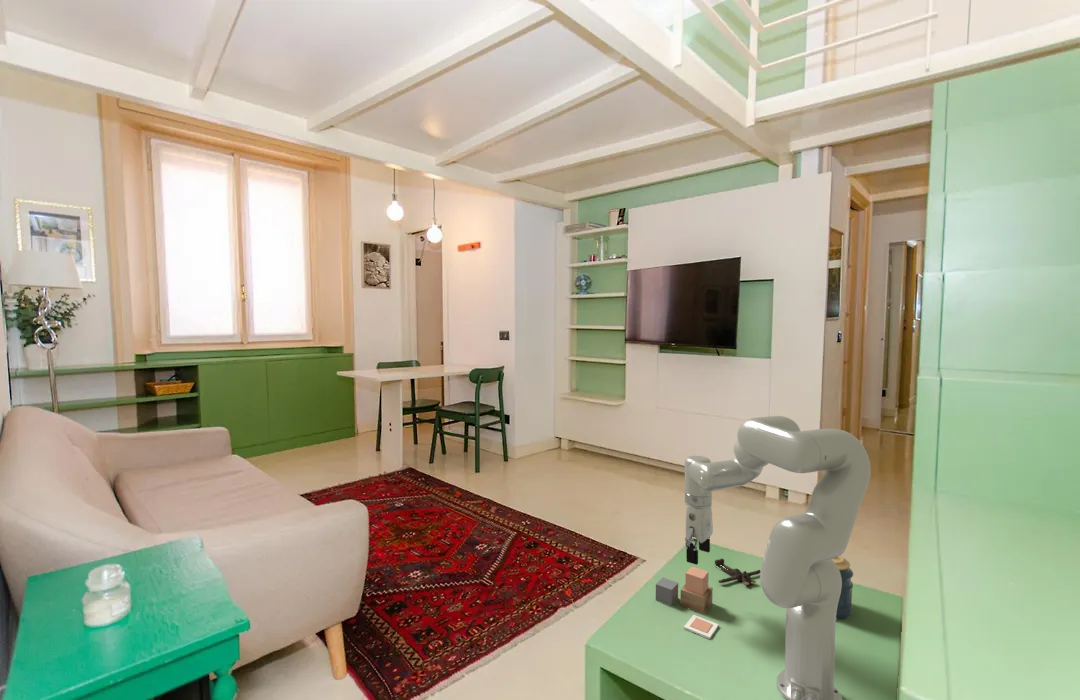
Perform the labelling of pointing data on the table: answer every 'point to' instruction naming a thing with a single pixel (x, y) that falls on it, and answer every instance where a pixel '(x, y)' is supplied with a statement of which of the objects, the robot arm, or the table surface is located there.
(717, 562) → the brown spindly figurine
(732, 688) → the table surface
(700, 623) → the card
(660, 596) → the charcoal block
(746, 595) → the table surface
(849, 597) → the canister
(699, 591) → the terracotta block
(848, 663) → the table surface
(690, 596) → the walnut block
